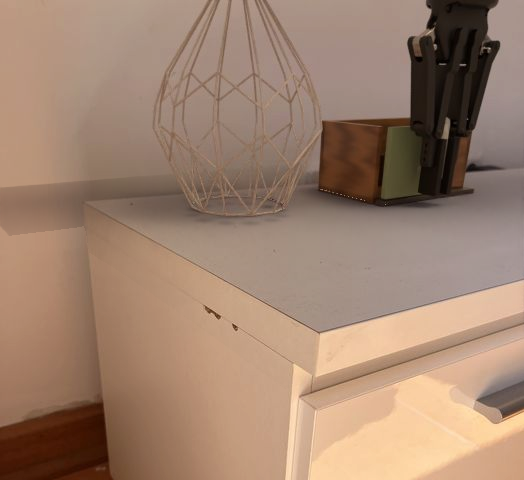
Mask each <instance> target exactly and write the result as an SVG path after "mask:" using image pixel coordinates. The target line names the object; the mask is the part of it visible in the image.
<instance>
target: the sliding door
mask: <svg viewBox="0 0 524 480" xmlns="http://www.w3.org/2000/svg"><path fill="white" fill-rule="evenodd" d="M449 128H450V120H449V118H447V117H446V121H445V126H444V131H443V135H442V137H441V138H443V139H447V142H448V135H449ZM421 147H422V137H420V136H416V134H415V132H413V131H411V129H410V126H400V127H388V133H387V142H386V152H385V162H384V171H383V181H382V191H381V199H384V200H386V199H393V198H400V197H407V196H414V195H422V194H420V193H418V186H419V178H420V171H421V166H420V157H421V156H420V154H421ZM446 149H447V145H446ZM445 156H446V151H445ZM444 162H445V158H444ZM443 169H444V165H443ZM442 176H443V171H442ZM441 179H442V178H441Z"/></svg>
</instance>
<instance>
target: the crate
mask: <svg viewBox="0 0 524 480" xmlns="http://www.w3.org/2000/svg"><path fill="white" fill-rule="evenodd" d="M400 126H410V116H404V117H403V116H402V117H401V116H400V117H380V118H379V117H376V118H352V119H350V118H348V119H324V120H323V119H322V129H323V130H322V132H321V135H320V148H319V164H318V182H317V183H318V184H317V187H318V188H319V189H318V188H317V190H318V191H320V192H323V193H324V192H325V193H328V194H331V195H336V196H339V197H344V198H348V199H352V200H355V201H360V202H364V203H367V204H371V205H372V204H374V205H375V206H379V207H386V206H387V207H388V206H394V205H401V204H407V203H414V202H422V201H428V200H434V199H441V198H447V197H454V196H463V195H467V194H474V192H475V188H473V187H468V186H465V187H464V185H465V179H466V173H467V166H468V161H469V155H470V149H471V143H472V136H473V131H468V132H471V133H470V135H469V137H467V138H464V137H461V140H460V146H459V151H458V152H459V153H458V159H457V162H456V165H455V168H454V175H453V181H452V187H451V194H450V195H444V194H439V196H436V197H434V196H429V195H425V194H422V195H414V196H407V197H400V198H393V199H386V200H384V199H381V191H382V186H380V185H378V177H379V167H380V157H381V152H386V142H387V133H388V127H400ZM320 189H323V190H320ZM324 190H327V191H324ZM328 191H330V192H328ZM332 192H334V193H332ZM336 193H338V194H336ZM340 194H342V195H340ZM344 195H345V196H344ZM348 196H349V197H348ZM352 197H353V198H352ZM356 198H357V199H356ZM360 199H362V200H360ZM364 200H365V201H364ZM385 204H386V205H385Z"/></svg>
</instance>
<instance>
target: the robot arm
mask: <svg viewBox="0 0 524 480" xmlns="http://www.w3.org/2000/svg"><path fill="white" fill-rule="evenodd" d="M499 2H500V0H425V6H426V8H427V9H429V10H431V11H430V15H429V17H428V20H427V22H426V26H425V30H424V31H422V32H420V34H418V35H411V36H409V37H408V38H407V41H406V43H407V44H406V46H407V50H408V55H409V58H410V59H409V60H410V97H409V98H410V101H409V103H410V111H409V112H410V113H409V115H410V116H409V117H410V129H411V131H413V132H415V134H416V136H420V137H422V147H421V154H420V156H421V157H420V166H421V171H420V178H419V186H418V193H420V194H425V195H429V196H434V197H436V196H439V194H444V195H450V194H451V187H452V181H453V175H454V168H455V165H456V162H457V159H458V153H459V152H458V151H459V146H460V140H461V137H464V138H467V137H469V135H470V133H471V132H468V131H472V132H473V131H474V130H475V129H476V127H477V123H478V119H479V115H480V112H481V107H482V104H483V100H484V96H485V94H486V89H487V86H488V81H489V78H490V74H491V70H492V66H493V63H494V61H495V59H496V57H497V55H498V53H499V51H500V49H501V42H500V40H498V39H497V40H496V39H495V40H492V39H491V38H490V36H489V35H488V31H489V20H488V18H489V17H488V15H489V12H490V10H492V9H494V8H496V7H497V6H498V4H499ZM446 117H447V118H449V120H450V128H449V135H448V142H447V139H443V138H441V137H442V135H443V131H444V126H445V121H446ZM446 145H447V149H446ZM445 151H446V156H445ZM444 158H445V162H444ZM443 165H444V169H443ZM442 171H443V176H442ZM441 178H442V179H441Z"/></svg>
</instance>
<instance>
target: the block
mask: <svg viewBox="0 0 524 480" xmlns="http://www.w3.org/2000/svg"><path fill="white" fill-rule="evenodd" d="M384 162H385V152H381V157H380V167H379V177H378V185H380V186H382V181H383V171H384Z"/></svg>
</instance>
